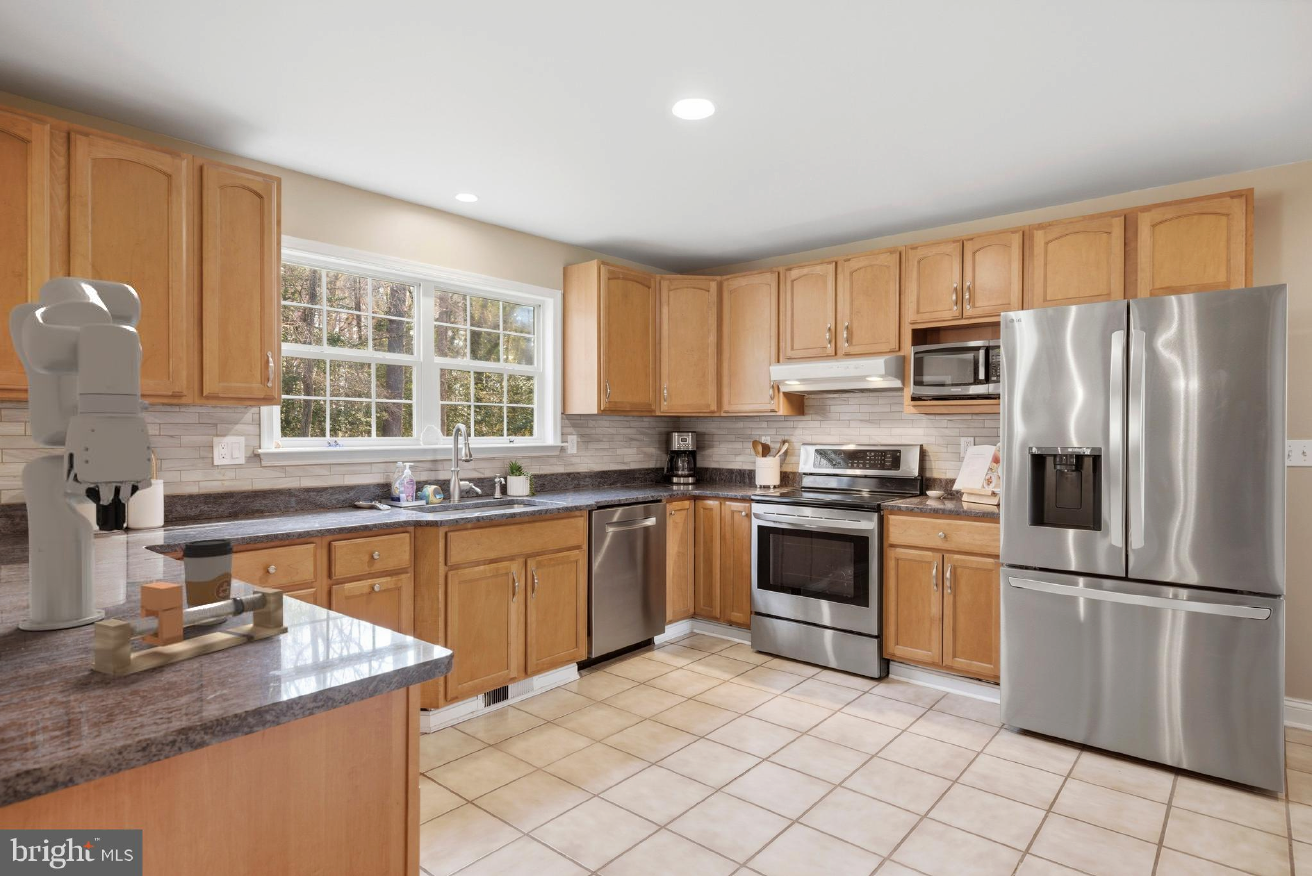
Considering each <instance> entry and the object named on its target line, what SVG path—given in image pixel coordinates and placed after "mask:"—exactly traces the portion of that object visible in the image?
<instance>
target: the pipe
mask: <svg viewBox="0 0 1312 876" xmlns="http://www.w3.org/2000/svg"><path fill="white" fill-rule="evenodd" d="M266 604H267V600H266V597H265V595H264V594H262V593H259V594H255V595H253V594H251V595H246V596H245V595H244V596H242V597H239V596H236V597H230V599H229V600H226V601H221V602H217V603H212V604H207V605H202V606H197V607H193V608H188V607H187V608H183V628H186V627H190V626H196V625H195V624H199V623H204V622H208V621H212V620H217V619H221V618H225V617H227V618H229V617H233V618H235V617H239V616H241V615H244V614H247V613H251V612H253V611H256V610H260V609H264V608H265V607H266ZM125 622H130V638H131V640H133V639H138V638H141V637H143V636H147V635H152V634H156V633H158V615H155V616H150V617H145V618H141V617H140V618H136V619H132V620H126V621H125Z"/></svg>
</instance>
